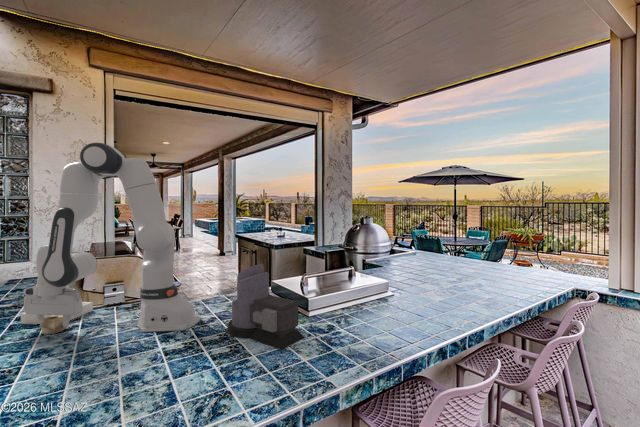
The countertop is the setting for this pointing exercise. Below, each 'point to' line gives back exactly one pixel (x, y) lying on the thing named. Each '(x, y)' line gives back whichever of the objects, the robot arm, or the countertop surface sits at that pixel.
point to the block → (52, 324)
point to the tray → (33, 320)
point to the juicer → (262, 312)
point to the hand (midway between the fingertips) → (54, 326)
